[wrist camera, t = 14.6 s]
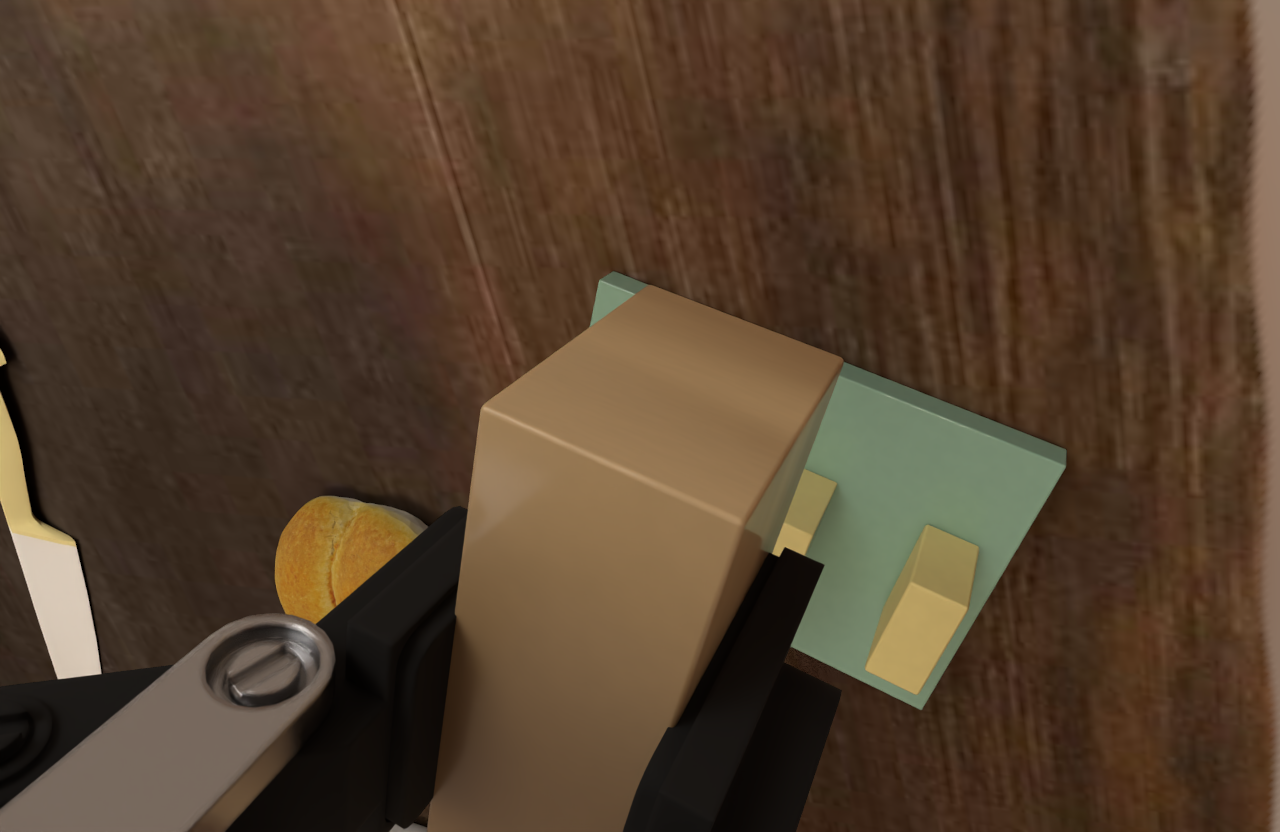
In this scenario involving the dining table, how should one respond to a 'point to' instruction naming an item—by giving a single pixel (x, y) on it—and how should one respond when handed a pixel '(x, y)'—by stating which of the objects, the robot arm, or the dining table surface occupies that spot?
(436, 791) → the wooden handled knife
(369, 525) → the bread roll
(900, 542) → the butter dish
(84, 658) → the knife
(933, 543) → the butter slice
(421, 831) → the cylinder vase
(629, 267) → the dining table surface
